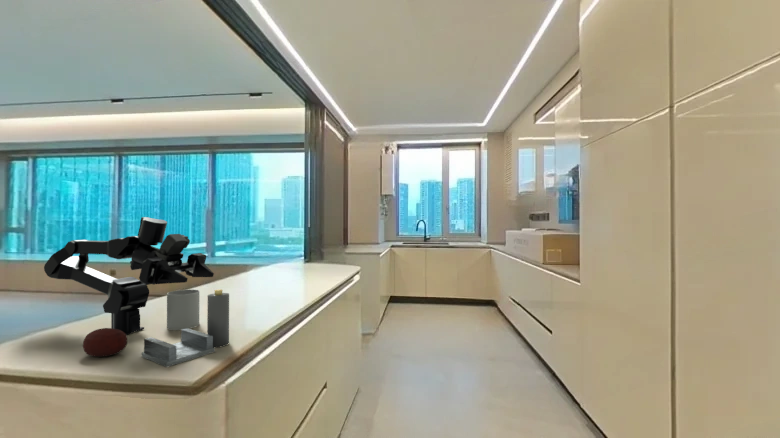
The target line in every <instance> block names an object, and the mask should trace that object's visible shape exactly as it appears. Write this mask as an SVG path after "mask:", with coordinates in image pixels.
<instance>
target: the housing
mask: <svg viewBox="0 0 780 438" xmlns="http://www.w3.org/2000/svg"><path fill="white" fill-rule="evenodd" d="M180 334H181V335H180V341H179V342H175V343H170V342H167V341H164V340H160V339H158V338H155V337H152V336H151V337H146V338H143V341H144V342H143V346H144V347H143V351H142V352H141V358H143V359H146V360H148V361H151V362H152V363H153V362H154V363H155V364H158V365H160V366H163V367H164V368H165V367H166V368H169V367H172V366H174V365H175V366H176V365H178V364H181V363H184V362H187V361H191V360H193V359H196V358H200V357H203V356H205V355H206V356H207V355H210V354H213V353H215V352H216V347H213V336H212V335H209V334H207V333H206V332H202V331H198V330H195V329H192V328H189V329H188V328H186V329H182V330H180ZM212 352H213V353H212Z"/></svg>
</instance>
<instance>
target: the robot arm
mask: <svg viewBox="0 0 780 438" xmlns="http://www.w3.org/2000/svg"><path fill="white" fill-rule="evenodd" d="M139 223H140V224H139V228H138V233H137V235H131V236H126V237H119V238H113V239H109V240H89V239H73V240H72V239H71V240H70V241H67V242H66V244H65V245H64V246H63V247H62V248H60V249H59V250H58V251H56V252H55V253H52V254H51V256H50V257H49V258H48V260H47V261H46V262H45V264H44V266H43V270H44V271H43V272H44V273H45V275H46V276H47V277H49V278H50V279H56V280H70V281H71V280H72V281H74V282H77V283H79V284H81V285H84V286H86V287H88V288H90V289H93V290H96V291H97V292H100V293H101V294H102V293H103V294H104V295H106V296H107V300H106V301H105V302H104V303H103V304H102V308H103V312H104V314H105V313H106V314H111V321H110V323H111V325H110V328H112V329H117V330H121V331H123V332H124V333H125V334H126V335H127V336H128V335H130V334H133V333H136V332H139V331H142V330H144V329H145V326H144V327H143V326H141V314H140V308H146V306H147V303H148V299H149V296H150V289H149V287H148V285H165V284H166V285H167V284H182V283H187V282H188V279H189V278H188V277H186V276H190V277H192V278H213V277H214V275H215V273H214V272H213V271H212V270H211V269H210V268H209V267H208V266H207V265H206V259H207V255H206V254H204V253H202V252H197V253H191V254H190V255H188V257H187V261H186V262H183V261H182V259H183V258H184V253H182V252H183V250H184V249H186V248H188V246H189V244H190V242H191V240H190V239H189V237H188V236H187V235H184V234H181V233H171V234H168V235H167V236H165V233H166V230H167V225H168V221H166V219H165V220H164V219H157V218H151V217H148V216H142V217H141V218H140V222H139ZM164 237H165V238H164ZM158 244H160V246H159V247H160V248H158V247H156V246H158ZM78 254H79V255H78ZM77 255H78V256H77ZM89 255H106V256H108V258H111V259H114V260H115V259H116V260H126V259H131V261H130V262H129V263H130V271H136V270H140V273H139V277H138V279H137V278H136V277H134V276H128V277H121V278H115V277H113V276H112V275H109V274H105V273H103V272H102V271H99V270H96V269H94V268H92V267H88V265H87V264H88V263H89V260H90V259H89ZM182 273H185V275H183V274H182Z"/></svg>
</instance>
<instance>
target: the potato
mask: <svg viewBox="0 0 780 438" xmlns="http://www.w3.org/2000/svg"><path fill="white" fill-rule="evenodd" d="M127 344H128V334H127V335H126V334H125V333H124V332H123V331H121V330H117V329H112V328H111V327H103V328H98V329H94V330H93V331H91V332H89V333H88V334H87V335H86V336H85V337H84V340H83V343H82V347H83V348H82V349H83V351H84V353H85V354H87V355H88V356H91V357H100V358H101V357H109V356H112V355H116V354H119V353H120V352H122V351H123V350H125V348H126V347H127Z"/></svg>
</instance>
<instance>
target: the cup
mask: <svg viewBox="0 0 780 438" xmlns="http://www.w3.org/2000/svg"><path fill="white" fill-rule="evenodd" d="M199 325H200V290H199V289H178V290H172V291H169V292H167V293H166V328H167V330H171V331H181V330H182V329H186V328H188V329H192V328H196V327H198V326H199Z"/></svg>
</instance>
